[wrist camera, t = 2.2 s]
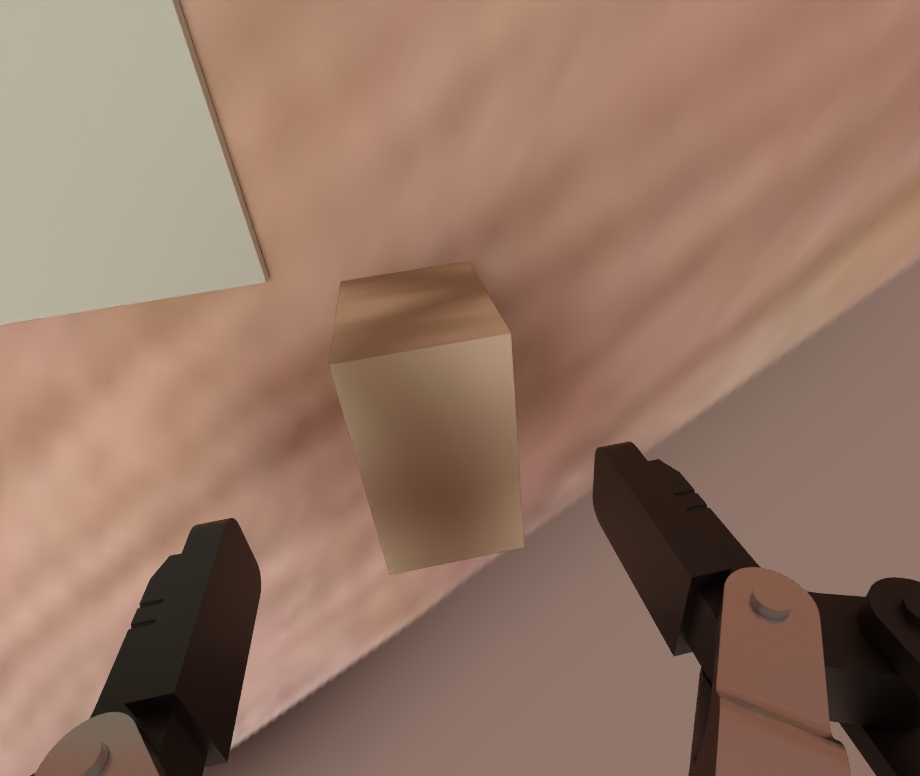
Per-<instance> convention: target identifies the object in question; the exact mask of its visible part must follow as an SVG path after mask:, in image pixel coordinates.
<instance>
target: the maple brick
mask: <svg viewBox="0 0 920 776" xmlns="http://www.w3.org/2000/svg"><path fill="white" fill-rule="evenodd" d="M329 367H330V371H331V374H332V378H333V381H334V384H335V388H336V391H337V395H338V398H339V402H340V405H341V409H342V412H343V416H344V419H345V423H346V426H347V429H348V433H349V436H350V440H351V443H352V447H353V450H354V454H355V457H356V461H357V464H358V468H359V471H360V474H361V478H362V481H363V485H364V488H365V492H366V495H367V499H368V502H369V506H370V509H371V513H372V516H373V519H374V523H375V526H376V530H377V533H378V537H379V540H380V544H381V547H382V551H383V554H384V558H385V561H386V564H387V568H388V571H389V575H392V574H397V573H402V572H407V571H412V570H417V569H421V568H426V567H431V566H436V565H441V564H446V563H450V562H455V561H460V560H465V559H470V558H475V557H479V556H484V555H489V554H494V553H499V552H504V551H508V550H513V549H518V548H523V547H524V535H523V519H522V503H521V487H520V471H519V455H518V438H517V422H516V406H515V390H514V374H513V358H512V341H511V333H510V331H509V329H508V327H507V326H506V324H505V322H504V321H503V319H502V317H501V316H500V314H499V312H498V310H497V309H496V307H495V305H494V304H493V302H492V300H491V299H490V297H489V295H488V293H487V292H486V290H485V288H484V287H483V285H482V283H481V281H480V280H479V278H478V276H477V275H476V273H475V271H474V270H473V268H472V266H471V264H470V263H469V261H467V262H460V263H454V264H448V265H442V266H435V267H429V268H423V269H417V270H410V271H404V272H398V273H392V274H385V275H379V276H373V277H367V278H360V279H354V280H348V281H342V282H341V283H340V290H339V297H338V304H337V311H336V318H335V325H334V332H333V339H332V346H331V353H330V360H329Z"/></svg>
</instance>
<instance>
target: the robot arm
mask: <svg viewBox="0 0 920 776" xmlns="http://www.w3.org/2000/svg"><path fill="white" fill-rule="evenodd" d="M593 505H594V509H595V513H596V516H597V519H598V521H599V523H600V525H601V527H602V529H603V530H604V532H605V534H606V536H607V538H608V539H609V541H610V543H611V545H612V547H613V549H614V550H615V552H616V554H617V556H618V558H619V559H620V561H621V563H622V564H623V566H624V568H625V570H626V572H627V574H628V575H629V577H630V579H631V581H632V582H633V584H634V586H635V588H636V590H637V591H638V593H639V595H640V597H641V599H642V600H643V602H644V604H645V606H646V607H647V609H648V611H649V613H650V615H651V616H652V618H653V620H654V622H655V624H656V625H657V627H658V629H659V630H660V632H661V634H662V636H663V638H664V640H665V641H666V643H667V645H668V647H669V648H670V650H671V652H672V654H673V655H674V656H677V655H681V654H685V653H689V652H693V653H694V655H695V657H696V658H697V660H698V662H699V663H700V665H701V670H700V674H699V683H698V684H699V685H698V693H697V702H696V711H695V721H694V730H693V739H692V749H691V757H690V767H689V774H688V776H851V770H850V764H849V759H848V755H847V752H846V749H845V747H844V745H843V744H842V743H841V742H840V741H838V740H835V739H834V738H833V736H832V733H831V729H830V721H833V722H839V723H840V724H841V726H842V727H843V729H844V730H845V732H846V733H847V734H848V736H849V737H850V739H851V740H852V742H853V743H854V744H855V746H856V747H857V749H858V750H859V751H860V753H861V754H862V756H863V757H864V759H865V760H866V762H867V763H868V764H869V766H870V767H871V769H872V770H873V771H874V773H875V774H876V776H920V582H918V581H914V580H911V579H905V578H895V577H893V578H885V579H881V580H879V581H877V582H875V583H874V584H873V585H872V586H871V588H870V590H869V592H868V594H867V595H866V597H859V596H847V595H835V594H821V593H813V592H808V591H806V590H805V589H804V588H802V587H801V586H800V585H799V584H798V583H796V582H795V581H793V580H792V579H790V578H789V577H787V576H785V575H783V574H781V573H778V572H776V571H773V570H769V569H765V568H761V567H760V566H759V565H758V564H757V563H756V562H755V561H754V560H753V558H752V557H751V556H750V555H749V554H748V553H747V551H746V550H745V549H744V548H743V547H742V545H741V544H740V543H739V542H738V541H737V540H736V538H735V537H734V536H733V535H732V534H731V533H730V531H729V530H728V529H727V528H726V527H725V525H724V524H723V523H722V522H721V521H720V519H719V518H718V517H717V516H716V515H715V514H714V512H713V511H712V510H711V509H710V508H707V505H706V503H705V502H704V501H703V499H702V498H701V497H700V496H699V495H698V494H697V493H695V492H694V489H693V488H692V486H691V485H690V484H689V483H688V482H687V481H686V480H685V478H684V477H683V476H682V475H681V473H680V472H678V471H677V470H675V469H673V468H672V467H670V466H668V465H667V464H665V463H663V462H662V461H660V460H659V459H657V460H653V461H647V460H646V458H645V457H644V456H643V455H642V453H641V452H640V451H639V450H638V448H637V447H636V446H635V445H634V444H633V443H632V442H624V443H619V444H614V445H609V446H603V447H599V448H597V449H596V452H595V463H594V481H593ZM260 593H261V576H260V570H259V567H258V564H257V562H256V559H255V557H254V555H253V553H252V551H251V549H250V547H249V545H248V543H247V541H246V538H245V536H244V534H243V532H242V530H241V528H240V526H239V524H238V522H237V521H236V520H235V519H234V518H229V519H224V520H219V521H214V522H209V523H204V524H198V525H195V526H194V527H193V528H192V529H191V531H190V533H189V536H188V538H187V541H186V544H185V546H184V549H183V551H182V554H177V555H172V556H169V557H168V559H167V560H166V561H165V562H164V563H163V565H162V566H161V567H160V568H159V569H158V570H157V572H156V573H155V574H154V575H153V576H152V578H151V579H150V581H149V583H148V585H147V588H146V590H145V592H144V595H143V597H142V599H141V602H140V608H139V609H137V611H136V613H135V616H134V618H133V620H132V623H131V629H130V630H128V632H127V634H126V637H125V639H124V641H123V644H122V646H121V648H120V651H119V653H118V655H117V658H116V660H115V662H114V665H113V667H112V669H111V672H110V674H109V676H108V679H107V681H106V683H105V686H104V688H103V690H102V693H101V695H100V697H99V700H98V702H97V704H96V707H95V709H94V711H93V713H92V715H91V717H90V719H88V720H87V721H85V722H83V723H81V724H80V725H78V726H77V727H75V728H74V729H73V730H71V731H70V732H69V733H68V734H66V735H65V736H64V737H63V738H62V739H61V740H60V741H59V742H58V743H57V744H56V745H55V746H54V747H53V748H52V749H51V751H50V752H49V753H48V754H47V756H46V757H45V758H44V760H43V761H42V763H41V764H40V766H39V768H38V769H37V771H36V773H34V774H33V775H31V776H202V775H203V771H204V768H205V767H209V766H213V765H217V764H221V763H226V762H227V761H228V757H229V752H230V747H231V742H232V736H233V731H234V726H235V721H236V716H237V711H238V706H239V701H240V696H241V691H242V685H243V680H244V675H245V670H246V665H247V660H248V655H249V650H250V645H251V640H252V635H253V629H254V624H255V619H256V614H257V609H258V604H259V599H260Z"/></svg>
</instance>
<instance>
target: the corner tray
mask: <svg viewBox="0 0 920 776" xmlns="http://www.w3.org/2000/svg"><path fill="white" fill-rule="evenodd" d="M268 278H269V275H268V272H267V269H266V266H265V263H264V260H263V257H262V253H261V250H260V247H259V244H258V241H257V238H256V235H255V232H254V229H253V226H252V223H251V220H250V217H249V214H248V211H247V208H246V205H245V202H244V199H243V196H242V192H241V189H240V186H239V183H238V180H237V177H236V174H235V171H234V168H233V165H232V162H231V159H230V156H229V153H228V150H227V147H226V144H225V141H224V138H223V135H222V131H221V128H220V125H219V122H218V119H217V116H216V113H215V110H214V107H213V104H212V101H211V98H210V95H209V92H208V89H207V86H206V83H205V80H204V77H203V73H202V70H201V67H200V64H199V61H198V58H197V55H196V52H195V49H194V46H193V43H192V40H191V37H190V34H189V31H188V28H187V25H186V22H185V19H184V16H183V12H182V9H181V6H180V3H179V0H0V325H2V324H9V323H15V322H21V321H27V320H34V319H40V318H46V317H53V316H59V315H65V314H72V313H78V312H84V311H90V310H97V309H103V308H109V307H116V306H122V305H128V304H134V303H141V302H147V301H153V300H160V299H166V298H172V297H178V296H185V295H191V294H197V293H204V292H210V291H216V290H222V289H229V288H235V287H241V286H248V285H254V284H260V283H266V282H267V280H268Z"/></svg>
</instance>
